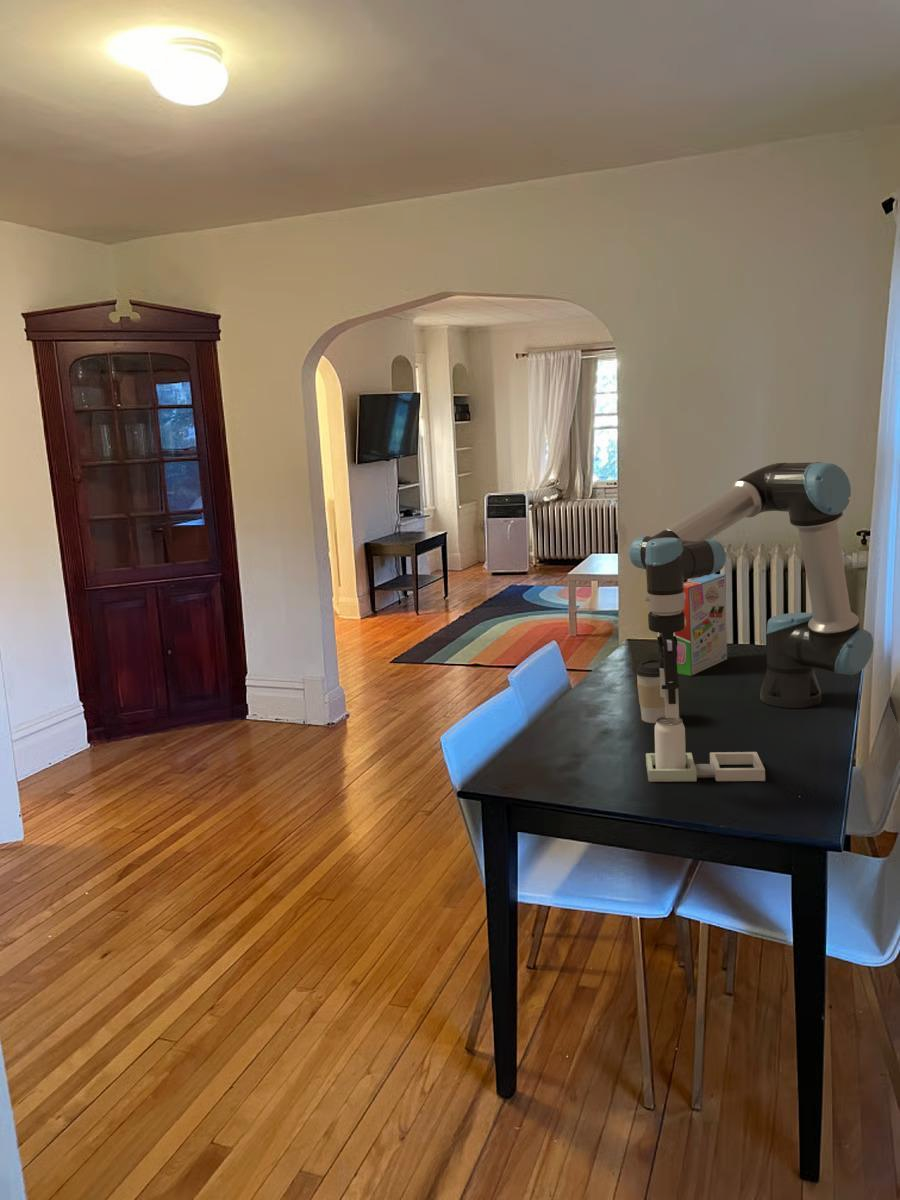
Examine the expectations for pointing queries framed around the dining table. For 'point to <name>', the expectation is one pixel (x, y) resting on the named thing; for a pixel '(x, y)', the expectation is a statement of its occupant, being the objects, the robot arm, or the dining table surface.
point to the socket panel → (710, 768)
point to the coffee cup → (650, 691)
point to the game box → (702, 625)
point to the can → (670, 743)
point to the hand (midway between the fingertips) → (669, 706)
